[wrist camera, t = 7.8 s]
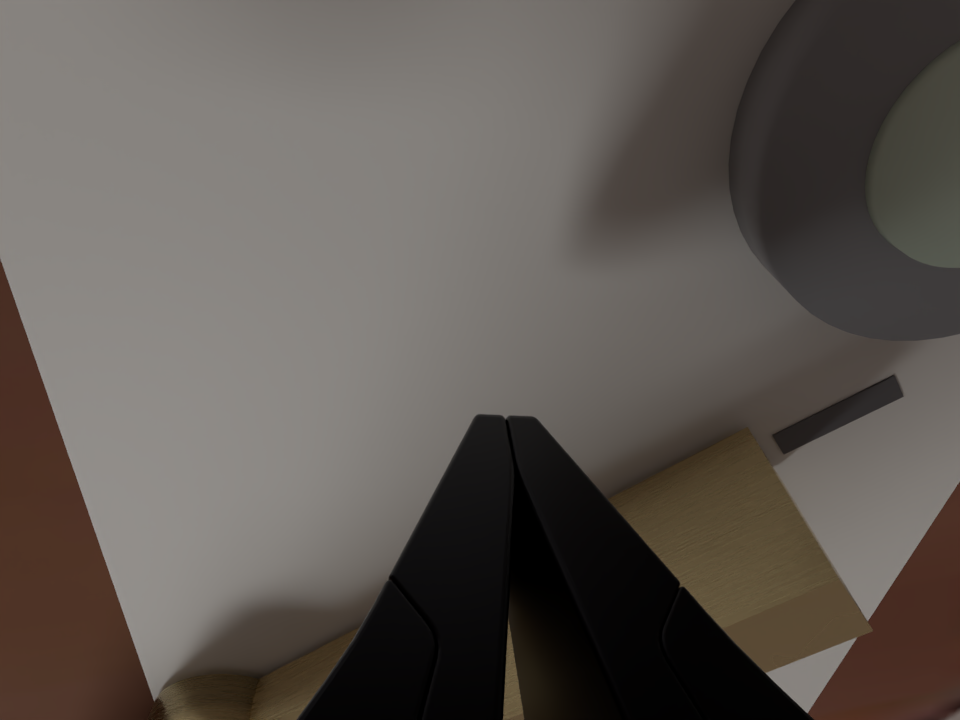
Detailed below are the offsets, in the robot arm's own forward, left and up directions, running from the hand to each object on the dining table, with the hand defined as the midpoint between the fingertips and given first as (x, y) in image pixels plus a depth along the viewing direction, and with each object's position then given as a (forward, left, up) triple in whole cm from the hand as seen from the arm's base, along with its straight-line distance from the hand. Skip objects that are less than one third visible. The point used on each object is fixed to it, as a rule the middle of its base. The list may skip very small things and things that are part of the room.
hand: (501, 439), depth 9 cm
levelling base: (-5, -1, -4) cm, 7 cm away
